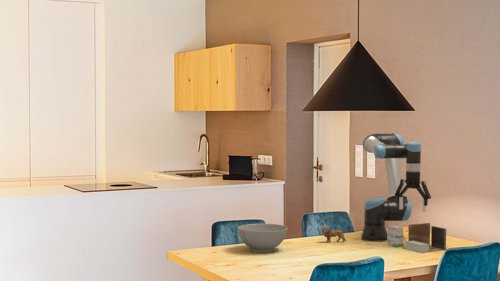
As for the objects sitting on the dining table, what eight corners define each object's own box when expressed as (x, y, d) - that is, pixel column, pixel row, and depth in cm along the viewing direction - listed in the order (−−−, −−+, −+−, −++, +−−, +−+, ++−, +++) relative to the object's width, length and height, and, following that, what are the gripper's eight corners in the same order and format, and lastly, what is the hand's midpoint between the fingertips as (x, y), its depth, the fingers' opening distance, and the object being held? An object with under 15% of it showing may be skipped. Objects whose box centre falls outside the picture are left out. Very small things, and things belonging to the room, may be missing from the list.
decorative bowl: (228, 252, 379) (228, 229, 378) (250, 243, 403) (250, 222, 402) (275, 256, 367) (275, 233, 367) (295, 247, 391) (295, 225, 391)
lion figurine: (322, 243, 405) (322, 227, 404) (319, 241, 410) (320, 225, 410) (347, 242, 408) (347, 226, 408) (344, 240, 413) (344, 225, 413)
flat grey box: (404, 248, 383) (405, 241, 383) (413, 248, 386) (413, 240, 386) (420, 252, 372) (420, 245, 372) (428, 251, 375) (429, 244, 375)
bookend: (431, 246, 390) (431, 226, 390) (434, 246, 391) (434, 225, 391) (444, 249, 381) (444, 228, 381) (447, 249, 382) (447, 228, 382)
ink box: (403, 248, 389) (404, 226, 389) (396, 249, 387) (396, 227, 387) (394, 246, 397) (394, 224, 397) (386, 246, 395) (386, 225, 394)
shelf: (400, 249, 386) (401, 225, 386) (428, 246, 395) (428, 222, 395) (421, 254, 372) (421, 229, 372) (449, 251, 381) (449, 227, 380)
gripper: (388, 169, 392) (388, 208, 394) (431, 173, 376) (430, 213, 378) (395, 168, 398) (395, 207, 399) (437, 172, 382) (437, 212, 383)
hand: (412, 210), depth 388 cm, fingers open, 13 cm apart
